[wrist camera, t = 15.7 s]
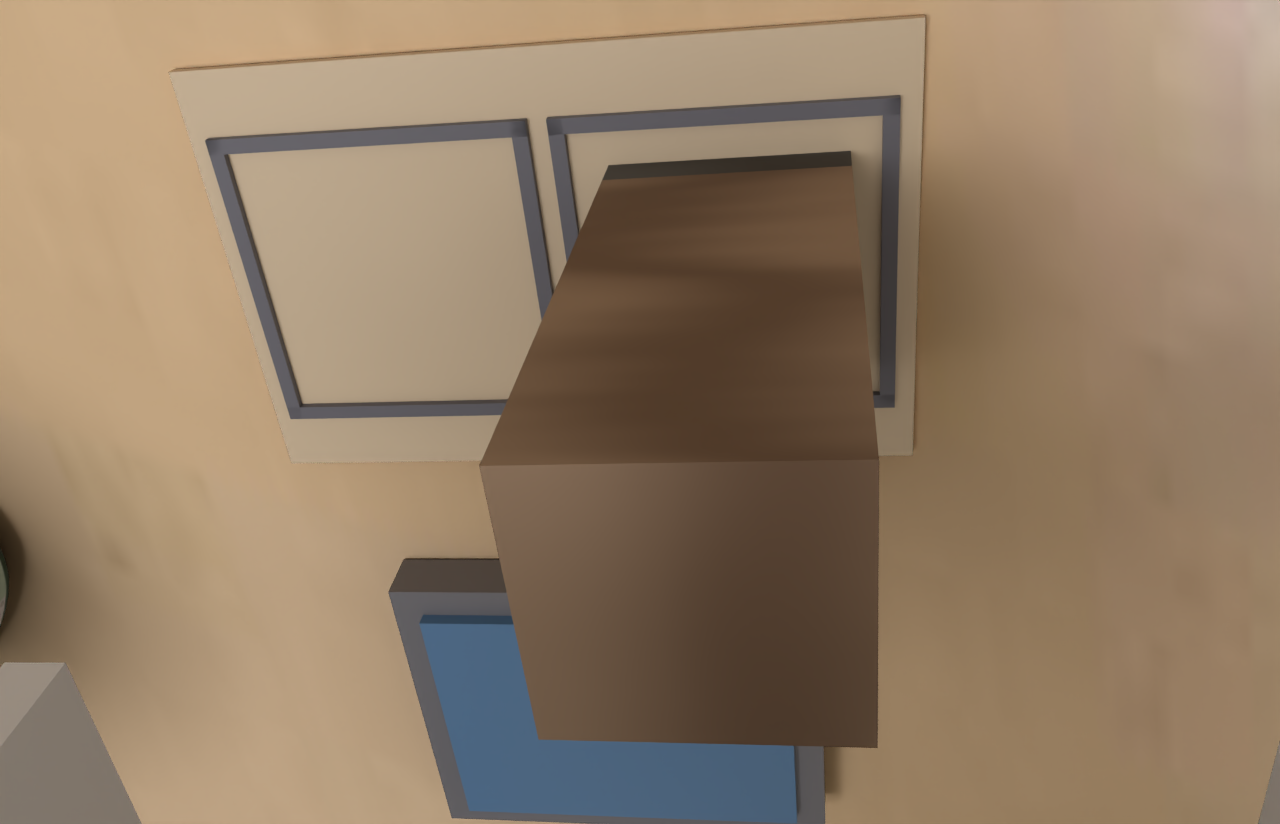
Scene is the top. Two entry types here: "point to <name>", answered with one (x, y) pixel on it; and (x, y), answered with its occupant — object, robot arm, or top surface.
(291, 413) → the sheet
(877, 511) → the tall wooden block
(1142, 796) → the top surface
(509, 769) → the ink pad
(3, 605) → the coffee jar
